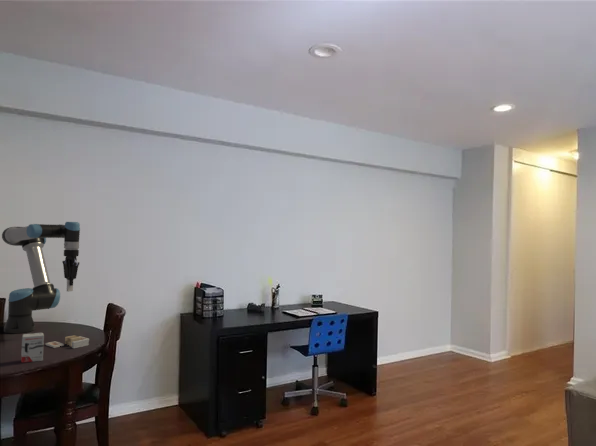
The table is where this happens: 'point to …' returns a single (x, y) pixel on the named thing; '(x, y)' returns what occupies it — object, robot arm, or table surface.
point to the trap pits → (57, 344)
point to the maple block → (71, 339)
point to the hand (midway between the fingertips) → (69, 291)
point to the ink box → (32, 347)
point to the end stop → (80, 343)
